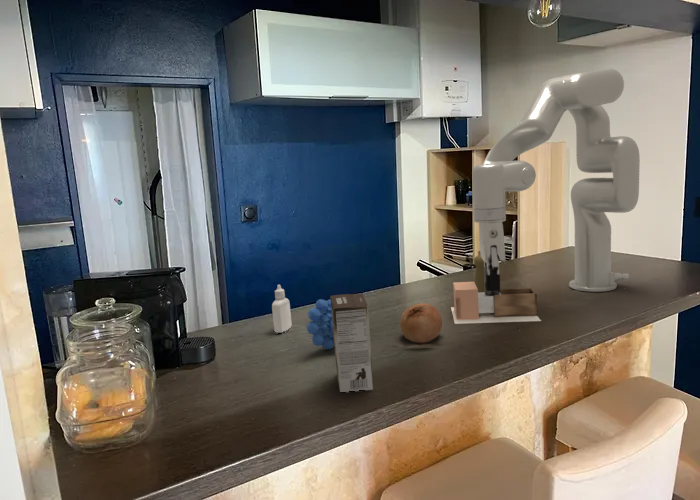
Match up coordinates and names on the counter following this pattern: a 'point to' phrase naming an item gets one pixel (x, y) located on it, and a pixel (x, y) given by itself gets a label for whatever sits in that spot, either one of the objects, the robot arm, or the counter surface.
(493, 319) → the grey base board
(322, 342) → the grapes
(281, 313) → the eye dropper bottle
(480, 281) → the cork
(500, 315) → the walnut sleeve
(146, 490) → the counter surface
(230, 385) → the counter surface
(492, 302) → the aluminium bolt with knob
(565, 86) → the robot arm
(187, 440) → the counter surface
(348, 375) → the coffee box
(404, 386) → the counter surface
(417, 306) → the onion
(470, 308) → the terracotta socket
